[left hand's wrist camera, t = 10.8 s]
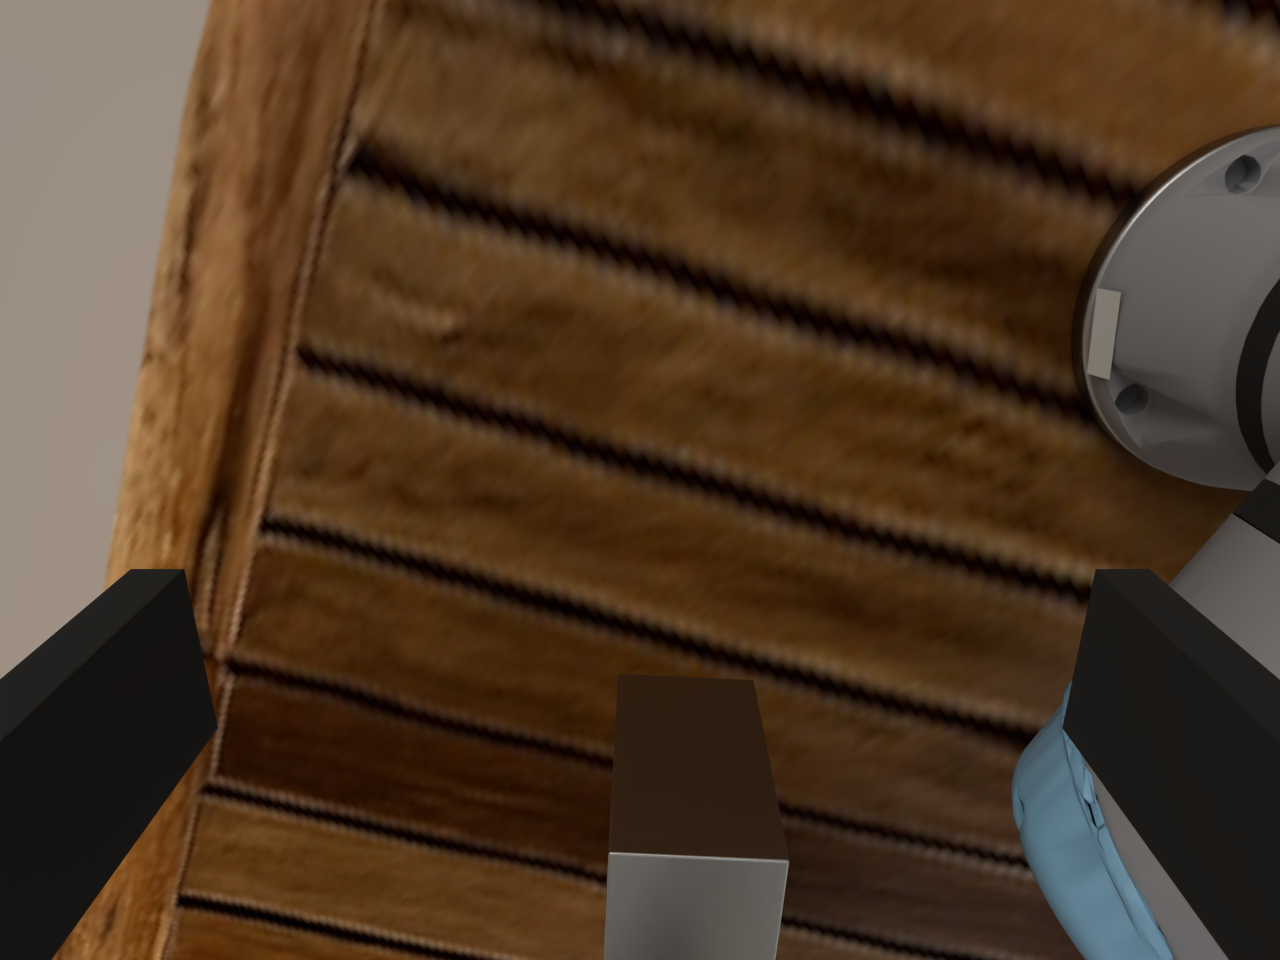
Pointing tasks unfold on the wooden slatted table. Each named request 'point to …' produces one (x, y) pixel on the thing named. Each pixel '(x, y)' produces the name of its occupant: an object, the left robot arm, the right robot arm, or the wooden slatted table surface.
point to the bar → (692, 824)
